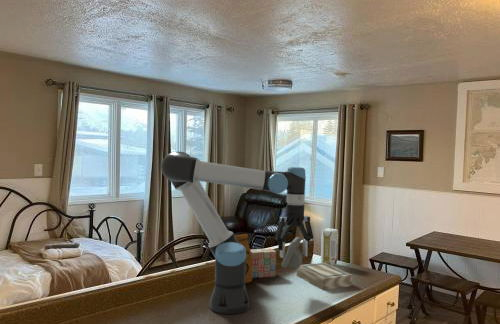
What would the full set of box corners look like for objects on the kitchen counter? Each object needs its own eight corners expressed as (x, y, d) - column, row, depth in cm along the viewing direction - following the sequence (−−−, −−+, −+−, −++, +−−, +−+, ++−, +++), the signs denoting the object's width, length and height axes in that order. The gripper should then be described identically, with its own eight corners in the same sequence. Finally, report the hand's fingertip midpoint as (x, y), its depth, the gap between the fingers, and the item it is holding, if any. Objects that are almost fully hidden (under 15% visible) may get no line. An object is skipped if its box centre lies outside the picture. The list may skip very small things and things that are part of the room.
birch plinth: (322, 290, 175) (323, 278, 175) (296, 275, 195) (296, 265, 195) (352, 285, 182) (352, 274, 182) (323, 272, 202) (324, 262, 202)
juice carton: (338, 264, 218) (339, 229, 218) (332, 267, 211) (333, 231, 211) (325, 261, 222) (326, 227, 222) (319, 265, 215) (320, 229, 215)
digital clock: (289, 259, 178) (290, 235, 178) (308, 262, 174) (309, 237, 174) (273, 267, 164) (274, 241, 164) (294, 271, 160) (295, 244, 159)
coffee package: (255, 283, 182) (256, 235, 182) (232, 288, 175) (234, 238, 174) (242, 277, 190) (243, 231, 190) (220, 282, 183) (221, 234, 182)
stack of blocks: (232, 279, 187) (233, 253, 187) (229, 275, 193) (230, 250, 193) (275, 276, 194) (276, 251, 193) (271, 272, 200) (272, 248, 199)
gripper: (275, 205, 160) (273, 261, 161) (323, 204, 170) (321, 256, 170) (267, 203, 167) (265, 256, 167) (313, 202, 177) (311, 252, 177)
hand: (293, 256), depth 169 cm, fingers closed on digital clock, 10 cm apart
